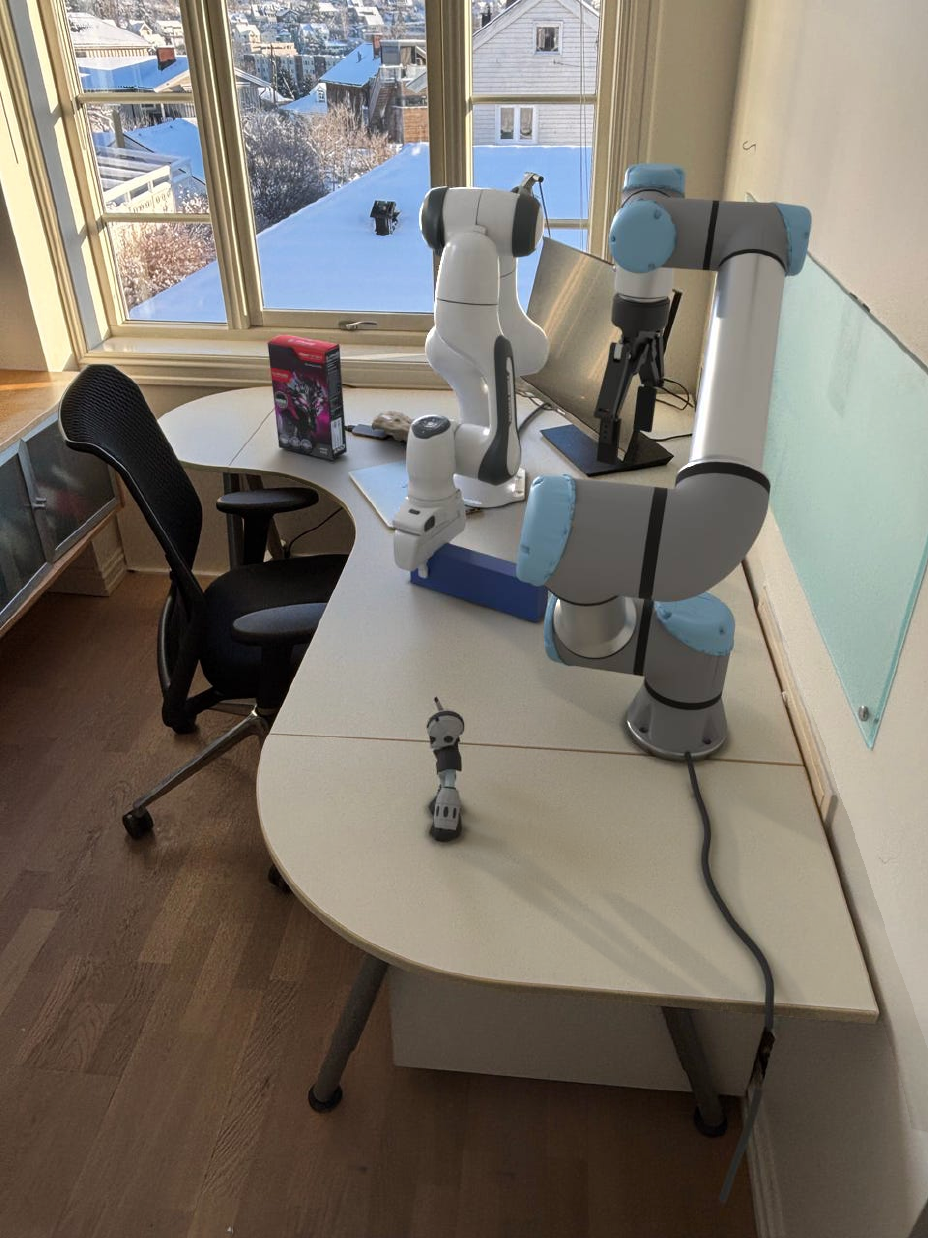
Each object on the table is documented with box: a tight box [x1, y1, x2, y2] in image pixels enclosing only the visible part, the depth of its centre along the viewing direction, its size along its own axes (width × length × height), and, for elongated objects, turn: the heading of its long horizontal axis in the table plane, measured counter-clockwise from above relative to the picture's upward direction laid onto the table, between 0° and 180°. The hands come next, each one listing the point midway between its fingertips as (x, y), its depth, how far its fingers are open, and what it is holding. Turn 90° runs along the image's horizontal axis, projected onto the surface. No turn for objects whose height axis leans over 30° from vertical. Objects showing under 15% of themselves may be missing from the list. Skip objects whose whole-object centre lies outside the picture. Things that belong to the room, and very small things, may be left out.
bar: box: [409, 542, 549, 624], centre depth 173 cm, size 27×4×8 cm, turn 60°
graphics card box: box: [267, 333, 348, 461], centre depth 223 cm, size 17×7×27 cm, turn 62°
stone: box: [371, 410, 416, 443], centre depth 234 cm, size 21×15×6 cm
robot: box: [425, 696, 465, 842], centre depth 121 cm, size 20×5×20 cm, turn 3°
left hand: (432, 569), depth 177 cm, fingers closed on bar, 4 cm apart
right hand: (625, 445), depth 133 cm, fingers open, 13 cm apart
